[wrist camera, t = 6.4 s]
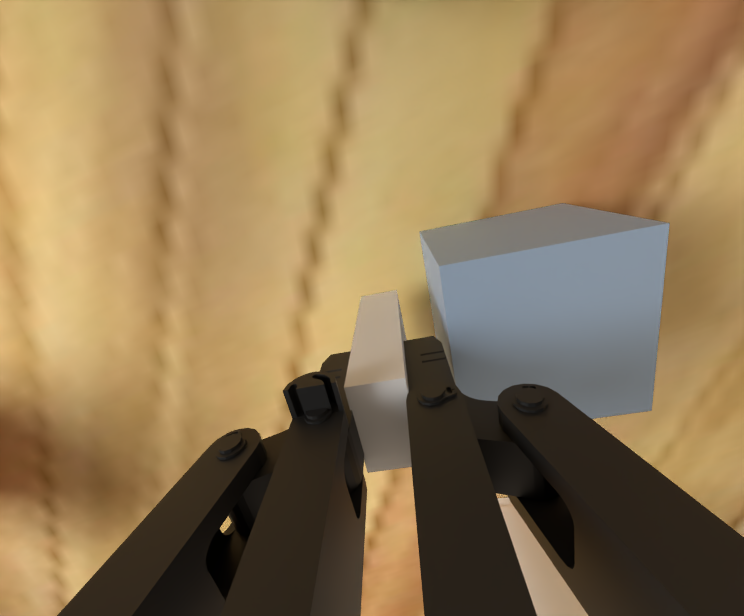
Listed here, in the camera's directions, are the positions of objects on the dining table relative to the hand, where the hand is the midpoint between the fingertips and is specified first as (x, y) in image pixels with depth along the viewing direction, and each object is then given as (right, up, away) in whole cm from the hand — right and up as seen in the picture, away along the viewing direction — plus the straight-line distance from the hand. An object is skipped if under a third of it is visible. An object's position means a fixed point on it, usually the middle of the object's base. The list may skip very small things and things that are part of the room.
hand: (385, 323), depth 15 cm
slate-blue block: (+5, +2, +1) cm, 5 cm away
